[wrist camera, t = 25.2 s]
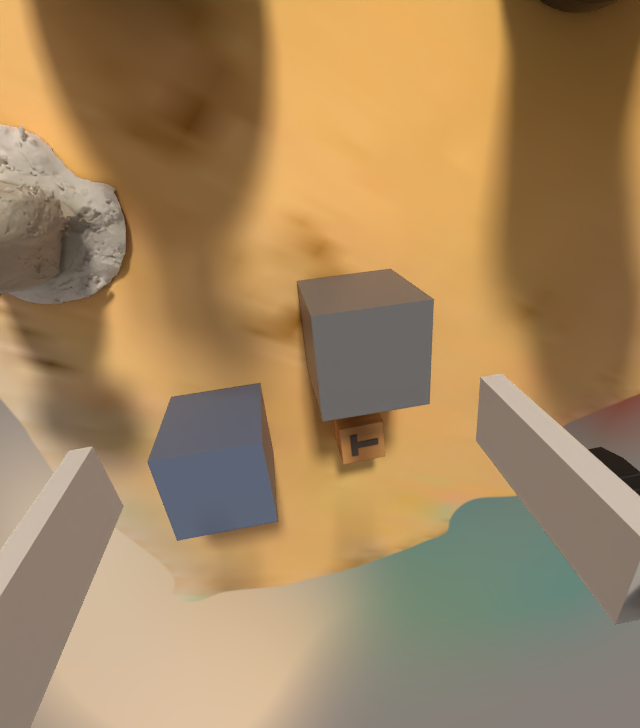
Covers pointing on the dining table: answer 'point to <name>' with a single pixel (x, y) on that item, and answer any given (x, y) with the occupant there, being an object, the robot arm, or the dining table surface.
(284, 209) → the dining table surface
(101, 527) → the robot arm
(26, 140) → the grey piece
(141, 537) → the dining table surface
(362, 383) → the matte gray cube
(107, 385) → the dining table surface
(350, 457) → the letter cube
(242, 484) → the slate blue cube
